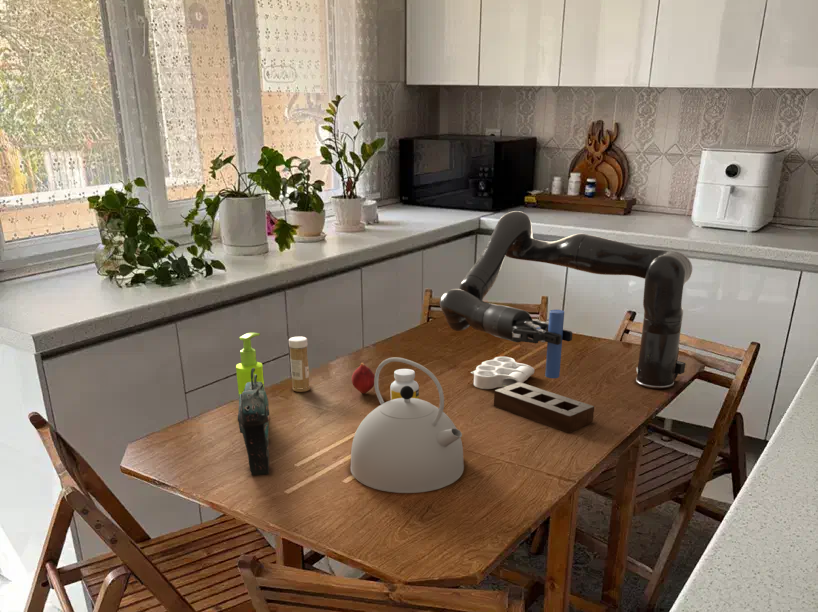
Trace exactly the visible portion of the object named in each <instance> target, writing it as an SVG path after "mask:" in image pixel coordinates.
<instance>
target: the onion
mask: <svg viewBox="0 0 818 612" xmlns="http://www.w3.org/2000/svg"><path fill="white" fill-rule="evenodd" d="M374 380H375V373H374V372H373V370H372V369H371V368H369V366H367V365H366V364H365V363H364V362H361V363H360V365H359V366H358V367H357V368H356V369H354V371H353V373H352V375H351V383H352V386H353V387H354V388H355V389H356V390H357V391H358V392H360V393H361V394H362V395H364V394H366V393H368V392H369V391H371V390H372V389H373V388H374V387H375V385H374Z"/></svg>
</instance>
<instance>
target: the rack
mask: <svg viewBox="0 0 818 612" xmlns="http://www.w3.org/2000/svg"><path fill="white" fill-rule="evenodd" d="M493 393H494V395H493V398H494V399H493V407H496V408H499V409H501V410H504V411H505V412H506V411H507V412H509V413H512V414H515V415H518V416H521V417H523V418H525V419H528V420H532V421H534V422H537V423H539V424H542V425H544V426H548V427H551V428H553V429H556V430H559V431H561V432H565V433H566V434H569V433H570V434H571V433H572V432H574V431H576V430H580V429H582V428H584V427H586V426H588V425H591V424H593V423H594V414H595V406H594V405H592V404H589V403H585V402H582V401H579V400H576V399H573V398H570V397H568V396H564V395H560V394H557V393H554V392H552V391H548V390H547V389H543V388H539V387H536V386H533V385H531V384H530V385H529V384H527V383H524V382H523V383H521V382H518V383H515V384H512V385H509V386H506V387H499V388H497V389H494V391H493Z"/></svg>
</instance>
